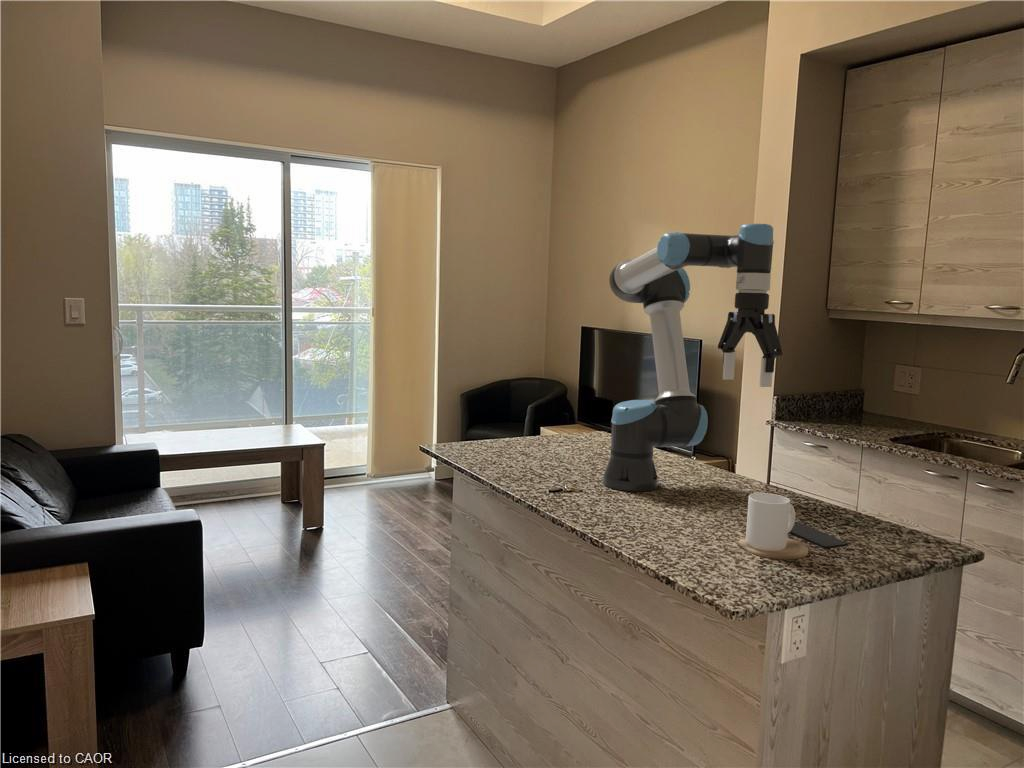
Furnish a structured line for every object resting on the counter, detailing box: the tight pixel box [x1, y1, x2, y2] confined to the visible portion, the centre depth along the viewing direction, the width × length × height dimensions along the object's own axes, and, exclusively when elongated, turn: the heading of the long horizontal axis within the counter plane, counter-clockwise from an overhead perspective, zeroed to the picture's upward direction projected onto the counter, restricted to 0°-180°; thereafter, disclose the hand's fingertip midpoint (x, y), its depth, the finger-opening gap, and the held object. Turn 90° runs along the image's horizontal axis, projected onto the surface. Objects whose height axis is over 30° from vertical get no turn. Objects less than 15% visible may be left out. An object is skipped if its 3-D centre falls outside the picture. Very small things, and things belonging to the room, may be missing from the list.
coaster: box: [738, 535, 809, 561], centre depth 157 cm, size 14×14×1 cm
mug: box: [745, 492, 796, 551], centre depth 157 cm, size 12×8×10 cm
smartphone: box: [788, 522, 849, 549], centre depth 166 cm, size 7×1×15 cm
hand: (746, 383), depth 174 cm, fingers open, 13 cm apart
